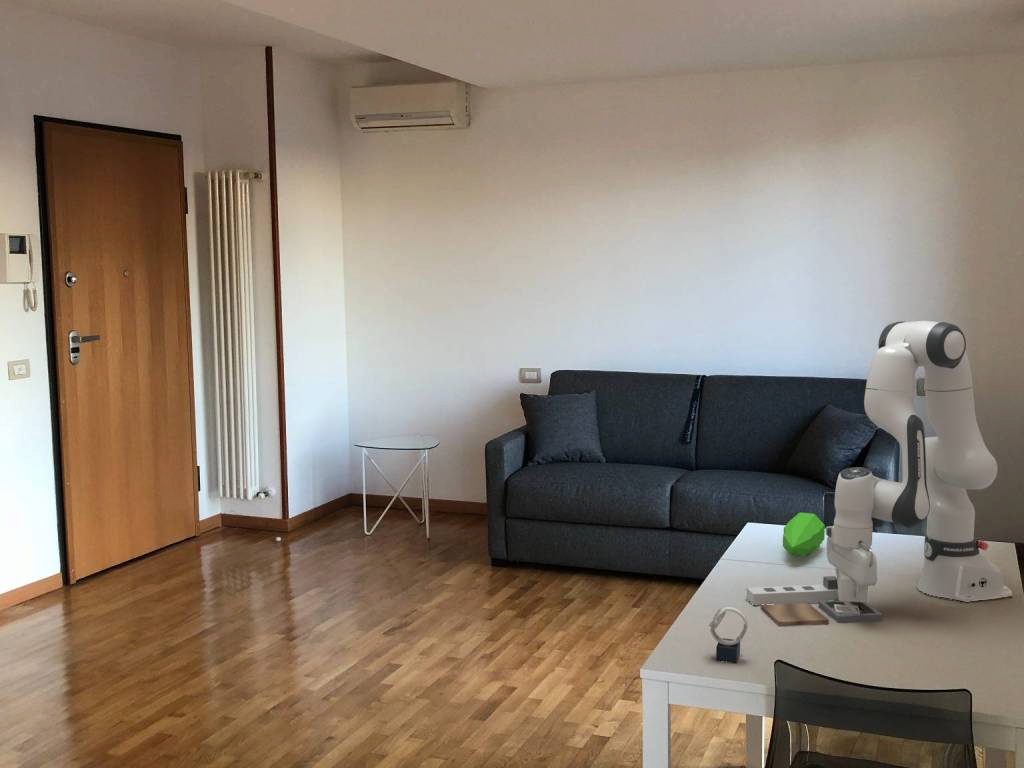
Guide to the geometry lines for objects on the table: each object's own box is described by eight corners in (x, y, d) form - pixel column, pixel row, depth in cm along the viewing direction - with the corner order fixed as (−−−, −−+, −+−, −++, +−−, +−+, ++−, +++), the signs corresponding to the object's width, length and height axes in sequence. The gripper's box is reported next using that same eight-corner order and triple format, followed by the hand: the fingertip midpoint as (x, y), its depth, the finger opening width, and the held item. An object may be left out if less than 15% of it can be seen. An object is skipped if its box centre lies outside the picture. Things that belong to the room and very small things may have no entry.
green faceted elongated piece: (821, 503, 315) (804, 522, 288) (835, 539, 314) (819, 562, 287) (785, 513, 320) (764, 533, 293) (798, 550, 319) (779, 573, 292)
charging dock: (861, 605, 261) (861, 598, 260) (882, 620, 250) (882, 613, 250) (818, 607, 259) (819, 600, 259) (837, 622, 248) (838, 615, 248)
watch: (710, 650, 231) (711, 601, 230) (748, 655, 229) (749, 605, 227) (706, 659, 226) (707, 609, 225) (745, 664, 223) (746, 614, 222)
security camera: (866, 619, 251) (868, 578, 250) (836, 617, 252) (837, 576, 251) (863, 610, 257) (865, 570, 256) (833, 608, 258) (835, 568, 257)
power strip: (832, 595, 268) (833, 574, 267) (846, 606, 260) (847, 584, 259) (746, 599, 265) (746, 578, 265) (757, 610, 257) (758, 588, 257)
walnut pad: (808, 606, 260) (808, 602, 259) (828, 623, 248) (828, 619, 248) (760, 609, 258) (760, 605, 258) (779, 626, 246) (779, 621, 246)
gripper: (885, 547, 242) (883, 606, 244) (847, 525, 263) (844, 579, 264) (859, 548, 242) (856, 607, 243) (822, 526, 262) (820, 580, 264)
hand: (850, 592), depth 254 cm, fingers open, 8 cm apart
